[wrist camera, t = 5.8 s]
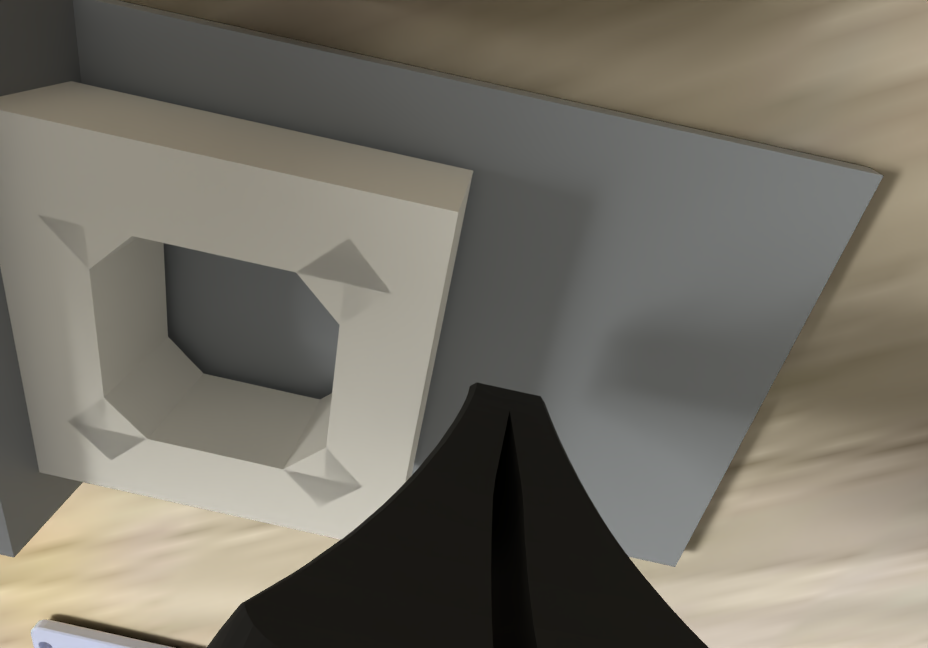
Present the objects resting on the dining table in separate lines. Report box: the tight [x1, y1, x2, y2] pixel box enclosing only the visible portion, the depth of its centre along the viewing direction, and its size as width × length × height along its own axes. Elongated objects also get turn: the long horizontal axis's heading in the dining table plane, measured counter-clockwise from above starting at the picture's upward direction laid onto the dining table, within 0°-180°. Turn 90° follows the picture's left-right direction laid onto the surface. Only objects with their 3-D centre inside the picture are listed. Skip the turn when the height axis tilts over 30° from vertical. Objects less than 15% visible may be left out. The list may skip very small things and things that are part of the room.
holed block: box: [0, 81, 473, 540], centre depth 13 cm, size 8×8×2 cm
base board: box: [0, 0, 883, 567], centre depth 13 cm, size 11×17×4 cm, turn 79°
